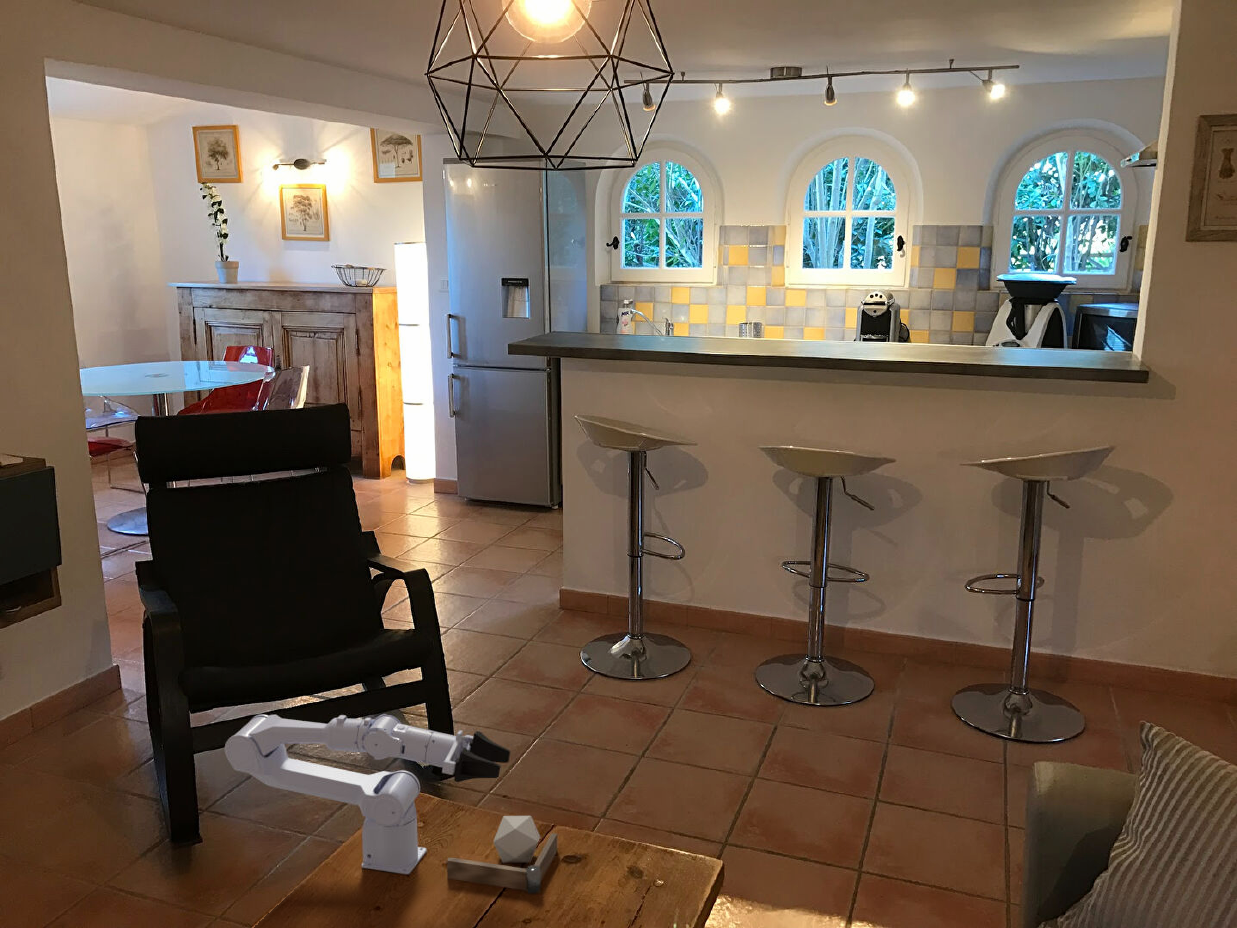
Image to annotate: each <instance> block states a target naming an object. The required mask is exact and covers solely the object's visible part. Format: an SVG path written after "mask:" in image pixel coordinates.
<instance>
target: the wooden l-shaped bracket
mask: <svg viewBox="0 0 1237 928" xmlns="http://www.w3.org/2000/svg"><path fill="white" fill-rule="evenodd" d="M557 852H558V833H554V832H551V834H550V836H549V837H548V840H547V841H546V843H545V844H544V846H543V848H542V851H541V852H540V854H539V855H538V857H537V859H536V860H535V862H534V864H532V865H528V866H527V867H526V868H522V867H517V866H510V865H502V864H496V863H488V862H484V861H483V862H482V861H476V860H468V859H462V858H455V857H448V859H447V860H446V876H447V879H448V880H449V879H450V880H456V881H457V880H458V881H462V882H463V881H464V882H469V883H470V882H471V883H476V884H482V885H489V886H495V887H503V888H509V889H514V890H515V889H516V890H520V891H522V890H523V891H526V892H527V893H528V894H530V895H535V894H538V893H540V891H541V882H542V880H543V879H544V876H545V875H546V873H547V871H548V869H549V867H550V866H551V863H552V862H553V860H554V858H555V856H556V853H557Z"/></svg>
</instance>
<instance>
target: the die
mask: <svg viewBox="0 0 1237 928" xmlns="http://www.w3.org/2000/svg"><path fill="white" fill-rule="evenodd" d="M540 838H541V835H540V833H539V831H538V829H537V826H536V824H535V822H534V819H533V817H532V816H531V815H504V816H502V818H501V821H500V824H499V826H498V828H497V832H496V834H495V836H494V839H493V845H494V847H495V849H496V850H497V851H496V852H497V853H498V855H499V858H500V859H501V862H502V863H507V864H508V863H509V864H510V863H513V864H514V863H524V864H525V863H531V862H532V860H533V857H534V854H535V852H536V849H537V846H538V843H539V840H540Z"/></svg>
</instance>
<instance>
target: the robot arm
mask: <svg viewBox="0 0 1237 928" xmlns="http://www.w3.org/2000/svg"><path fill="white" fill-rule="evenodd" d="M463 733H464V731H463V730H460V729H459V730H458V731H457V733H456V735H453V734H448V733H443V732H441V731H440V732H438V731H435V730H431V729H425V728H422V727H417V726H412V725H409V724H403V723H402V722H401V721H400V719H398V718H397V717H395V716H394V715H390V714H389V715H388V714H387V713H383V714H380V715H379V716H377V717H375V718H374V719H372V717H365V719H363V718H348V717H347V715H344V714H340V715H339V716H338V717H334V718H332V719H331V720H330V721H329V722H328V723H324V722H323V723H322V722H314V721H306V720H304V721H303V720H298V719H297V720H296V719H290V718H289V719H288V718H282V717H280V716H279V715H277V714H270V715H268V714H262V713H261V714H257V715H255V716H253V717H252V718H251V719H250V720H249V722H248V723H246V724H245V725H244V726H243V727H242V728H241V729H240V730H238V732H236V733H235V734H234V735H231V737H229V738H228V739H227V741H225V746H224V755H225V756H226V759H227V761H228V762H229V764H230V765H231V767H232V769H233V770H234V771H238V772H242V773H247V774H248V775H250V776H252V777H254V779H255V778H256V779H257V780H258V781H260V782H261V783H263V784H265V785H266V786H268V787H271V788H276V789H281V790H286V791H289V792H296V793H300V794H302V795H303V794H304V795H308V796H313V797H318V798H322V799H327V800H330V801H331V800H332V801H335V802H342V803H346V804H350V805H355V806H359V809H360V811H361V815H362V816H363V818H364V817H365V819H364V821H363V825H362V828H361V829H362V831H361V833H362V834H361V837H362V841H361V842H362V859H363V862H362V863H361V868H363V869H371V870H377V871H384V872H389V873H395V874H403V875H410V873H412V871H414V868H415V867H416V866H417V864H418V863H419V862H420V861H421V859H422V858H423V857H424V855H425V854H426V853H427V851H428V850H427V848H426V847H419V843H418V840H419V839H418V821H417V817H418V816H417V809H416V806H415V805H416V803H415V799H417V797H418V796H419V795H420V792H421V785H420V781H419V778H417V776H416V775H415V774H414V773H412V772H410V771H408V770H403V769H402V770H397V771H387V770H382V771H379V772H375V773H371V774H365V773H361V772H357V771H350V770H347V769H346V770H345V769H342V768H338V767H337V768H336V767H333V766H327V765H323V764H318V763H314V762H309V761H304V760H299V759H296V758H291V757H289V755H288V753H287V752H288V751H287V749H286V744H325V747H327V749H328V750H330V751H336V752H337V751H338V752H353V753H354V752H355V753H367V754H368V755H370V756H372V757H373V759H374V760H376V761H378V760H379V761H381V760H384V759H387V758H389V757H392V758H400V759H403V760H404V759H405V760H408V761H413V762H417V763H421V764H426V765H430V766H435V767H438V768H442V771H441V773H442V774H447V775H451V776H452V775H454V779H453V780H454V782H456V783H461V782H463V781H469V780H473V779H497V778H499V777H500V770H501V765H500V764H499V763H501V764H505V763H509V762H510V755H511V750H510V749H508V748H506V747H504V746H502V745H500V744H498V743H496V742H494V741H492V740H491V739H489V738H488V737H487V736H486V735H485V734H483V732H481V731H477V730H476V731H475V732H474V733H473V735H470V734H466V735H463Z"/></svg>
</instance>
